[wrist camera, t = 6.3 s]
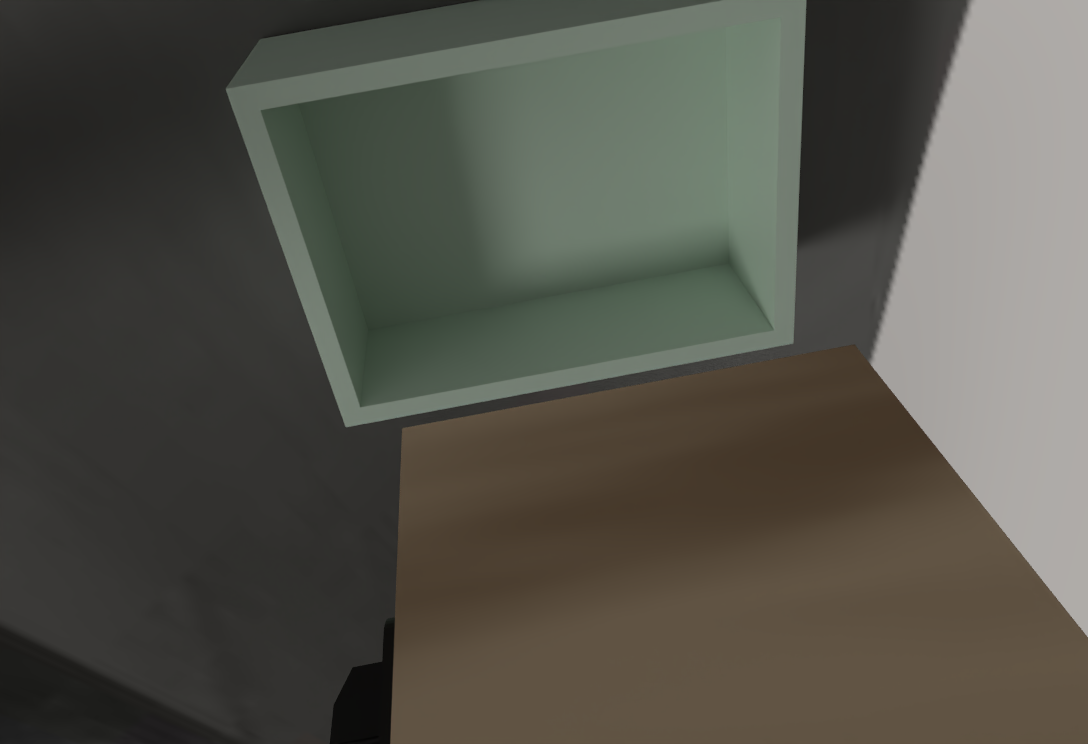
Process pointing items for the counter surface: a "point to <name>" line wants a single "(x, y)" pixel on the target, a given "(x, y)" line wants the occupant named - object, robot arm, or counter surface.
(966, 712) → the oak block
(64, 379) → the counter surface
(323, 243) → the tote
